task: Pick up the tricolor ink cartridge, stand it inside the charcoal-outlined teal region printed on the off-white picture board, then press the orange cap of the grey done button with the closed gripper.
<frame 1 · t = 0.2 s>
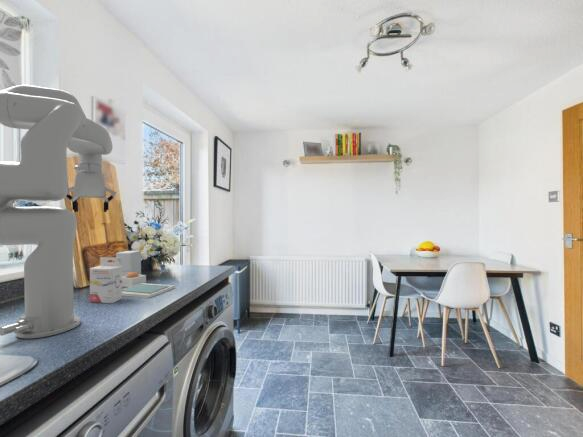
hand: (91, 211, 111), 31 cm above the worktop, tool pointing down, fingers open, 9 cm apart
ink cartridge box: (106, 301, 94), on the worktop
supplement box: (129, 279, 126), on the worktop
button housing: (132, 284, 116), on the worktop
picture board: (145, 291, 106), on the worktop
done button: (132, 275, 116), point 4 cm above the worktop, slide at 0.0 cm
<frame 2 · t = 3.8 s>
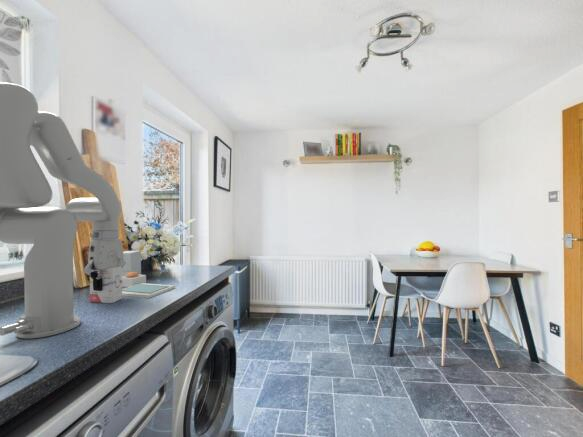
hand: (106, 287, 94), 5 cm above the worktop, tool pointing down, fingers closed on ink cartridge box, 5 cm apart
ink cartridge box: (106, 301, 94), on the worktop, touching gripper
everything else where it was.
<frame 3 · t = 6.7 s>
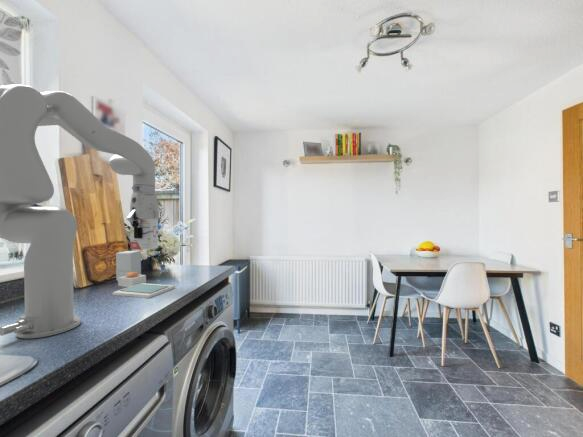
hand: (144, 237, 105), 21 cm above the worktop, tool pointing down, fingers closed on ink cartridge box, 5 cm apart
ink cartridge box: (144, 249, 105), point 16 cm above the worktop, touching gripper
everything else where it was.
when the fingers open (6 cm above the worktop, at t = 9.8 s): ink cartridge box stays where it is, resting on picture board.
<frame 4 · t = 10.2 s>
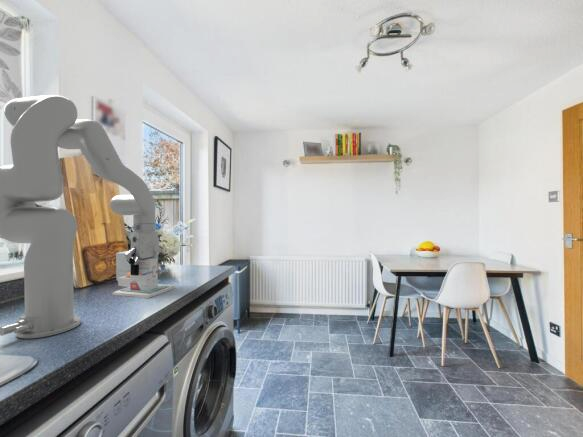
hand: (144, 272, 106), 7 cm above the worktop, tool pointing down, fingers open, 9 cm apart
ink cartridge box: (144, 289, 105), point 1 cm above the worktop, touching picture board
everything else where it was.
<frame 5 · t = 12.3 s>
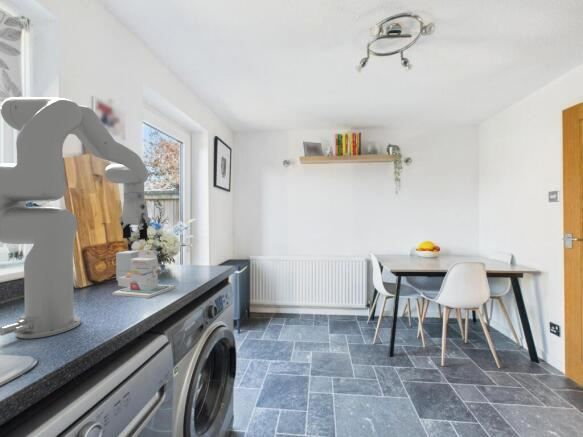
hand: (135, 238, 114), 20 cm above the worktop, tool pointing down, fingers open, 9 cm apart
nothing on the worktop moved.
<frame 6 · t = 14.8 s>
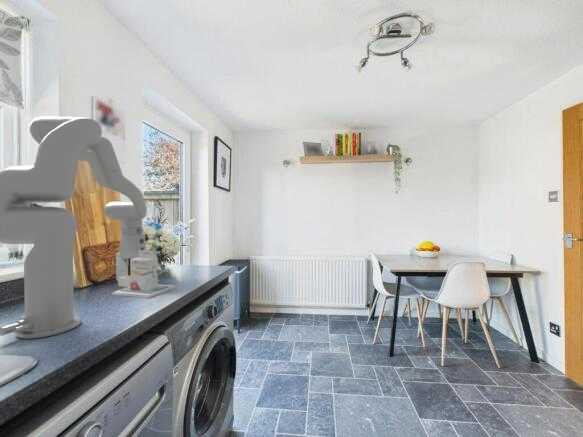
hand: (132, 274, 116), 4 cm above the worktop, tool pointing down, fingers closed
done button: (132, 277, 116), point 3 cm above the worktop, slide at 0.9 cm, touching gripper
everything else where it was.
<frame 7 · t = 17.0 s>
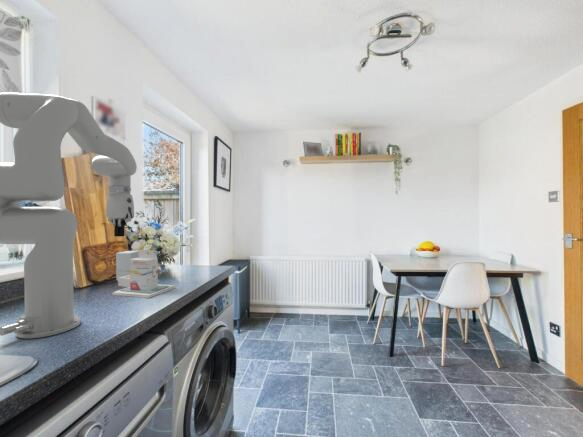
hand: (119, 236, 111), 21 cm above the worktop, tool pointing down, fingers closed
done button: (132, 279, 116), point 2 cm above the worktop, slide at 1.5 cm
everything else where it was.
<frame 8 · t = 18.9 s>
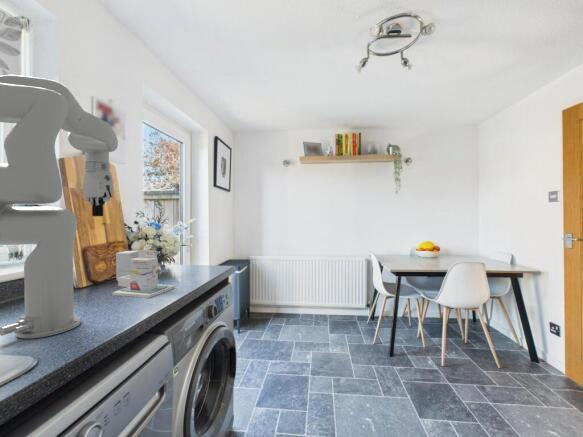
hand: (97, 216, 105), 29 cm above the worktop, tool pointing down, fingers closed
nothing on the worktop moved.
at the end: ink cartridge box 0.5 cm off-centre on the picture board, point 0.9 cm above the picture board's base; ink cartridge box tilted 0°; done button slide at 1.5 cm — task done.
